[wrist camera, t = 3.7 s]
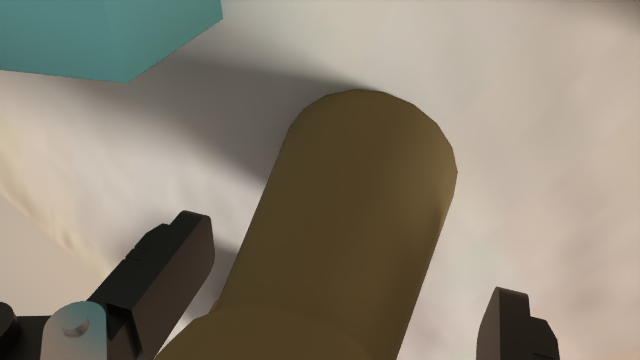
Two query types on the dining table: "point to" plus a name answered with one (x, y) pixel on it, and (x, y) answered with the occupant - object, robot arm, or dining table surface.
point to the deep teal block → (98, 35)
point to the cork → (334, 238)
